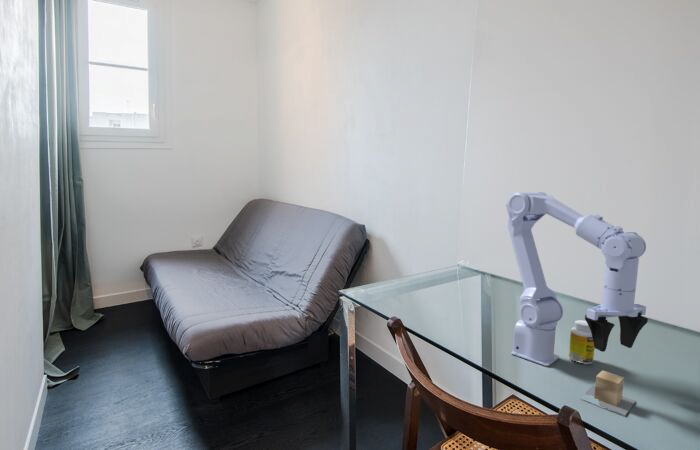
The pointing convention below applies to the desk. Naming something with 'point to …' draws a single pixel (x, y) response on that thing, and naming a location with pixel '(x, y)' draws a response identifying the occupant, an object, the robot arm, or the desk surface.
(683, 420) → the desk surface
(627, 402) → the pad
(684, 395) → the desk surface
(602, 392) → the oak block
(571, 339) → the supplement bottle
